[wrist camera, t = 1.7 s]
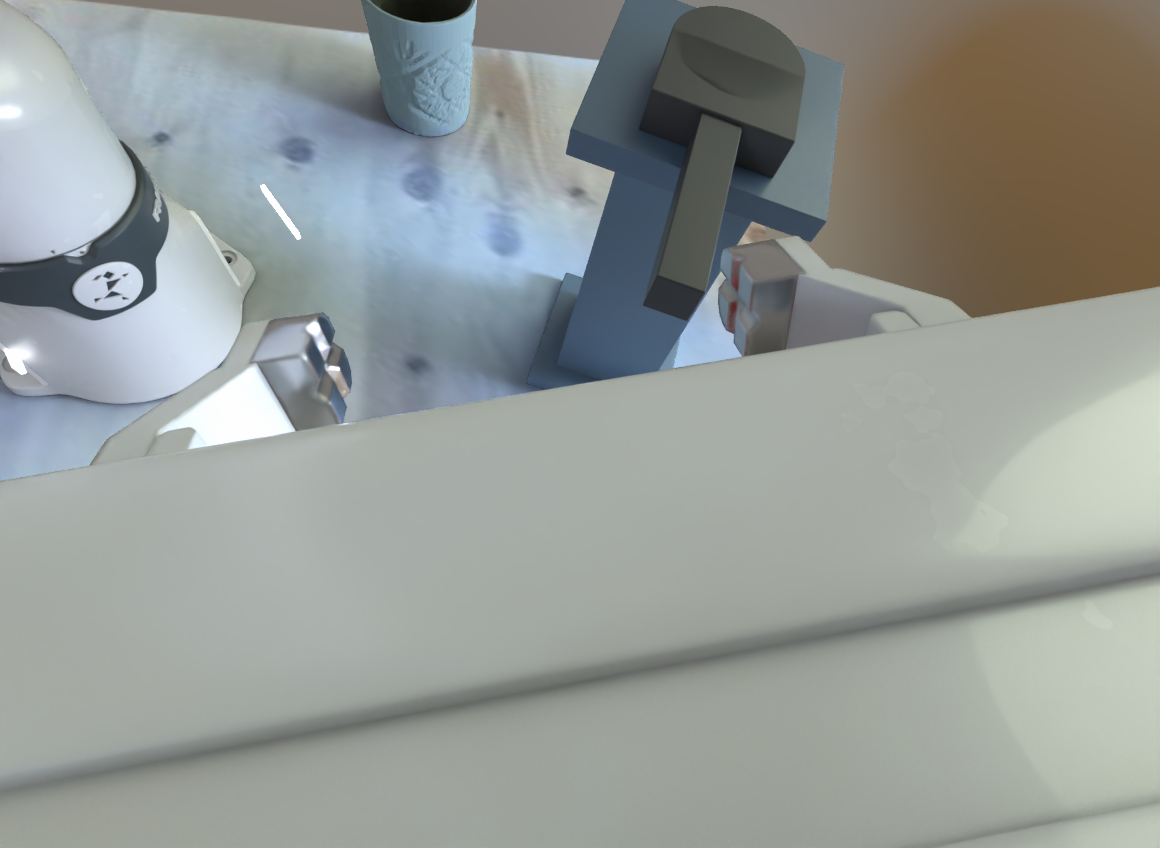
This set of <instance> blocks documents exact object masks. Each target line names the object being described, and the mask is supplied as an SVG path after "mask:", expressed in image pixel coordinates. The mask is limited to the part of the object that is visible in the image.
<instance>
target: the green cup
mask: <svg viewBox="0 0 1160 848" xmlns="http://www.w3.org/2000/svg"><path fill="white" fill-rule="evenodd" d="M361 2H362V6H363V10H364V14H365V18H366V21H367V26H368V30H369V36H370V40H371V43H372V47H373V51H374V56H375V61H376V65H377V69H378V71H379V74H380V77H381V78H380V87H381V91H382V96H383V100H384V104H385V108H386V111H387V113H388V115H389V117H390V118H391V120H392V121H393V122H394V123H395V124H396V125H397V126H398V127H400V128H401V129H403V130H405V131H407V132H409V133H413V134H414V135H421V136H427V137H430V136H431V137H433V136H442V135H447V134H450V133H453V132H455V131H457V130H458V129H459V128H461V126H462V125H463V124H464V123H465V121H466V119H467V116H468V112H469V101H470V83H471V81H470V80H471V76H472V62H473V48H472V45H471V44H472V41H473V38H474V37H473V30H474V27H475V15H476V4H477V0H361Z"/></svg>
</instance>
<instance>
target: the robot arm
mask: <svg viewBox="0 0 1160 848" xmlns="http://www.w3.org/2000/svg"><path fill="white" fill-rule="evenodd" d="M260 186H261V189H262V191H263V193H264V194H265V196H266V197H267V198H268V200H269V201H270V203H271V204H272V205H273V207H274V208H275V209H276V211H277V212H278V214H279V215H280V216H281V218H282V219H283V220H284V222H285V223H286V225H287V226H288V227H289V229H290V230H291V232H292V233H293V234H294V236H295V237H296V238H297V240H298V239H300V238H301V237H300V234H299V232H298V230H297V229H296V228H295V226H294V225H293V223H292V222H291V221H290V219H289V218H288V217H287V215H286V214H285V212H284V211H283V210H282V208H281V207H280V206H279V204H278V203H277V201H276V200H275V199H274V197H273V196H272V195H271V193H270V192H269V190H268V189H267V188H266V186H265V185H264V184H263V185H260ZM227 262H231V263H229V264H228V263H227ZM720 270H721V271H722V273H723V274H724V276H725V277H726V279H725V280H724V282H723V283H722V285H721V286H720V287H719V293H718V305H719V313H720V317H721V320H722V323H723V325H724V327H725V329H726V331H729V332H731V333H733V334H734V344H735V346H736V347H737V349H738V351H739V352H740V354H741V355H742V357H738V358H733V359H727V360H721V361H715V362H709V363H703V364H697V365H691V366H685V367H679V368H673V369H667V370H661V371H655V372H649V373H643V374H637V375H631V376H625V377H619V378H613V379H607V380H601V381H595V382H589V383H583V384H577V385H571V386H565V387H559V388H553V389H547V390H541V391H535V392H529V393H523V394H517V395H511V396H505V397H499V398H493V399H487V400H481V401H475V402H469V403H463V404H457V405H451V406H445V407H439V408H433V409H427V410H421V411H415V412H409V413H403V414H397V415H391V416H385V417H379V418H373V419H367V420H361V421H355V422H349V423H343V420H344V416H345V412H346V408H347V406H346V404H345V402H344V400H343V399H344V398H345V397H346V396H347V395H348V394H349V393H350V390H351V385H352V379H351V369H350V366H349V362H348V359H347V357H346V354H345V352H344V350H343V349H342V348H341V347H339V346H338V345H336V344H335V343H333V342H332V340H333V337H334V333H335V330H334V328H333V326H332V324H331V321H330V319H329V317H328V316H327V315H325V314H324V313H323V312H321V313H314V314H306V315H299V316H292V317H285V318H278V319H273V320H272V319H268V320H262V321H257V322H252V323H247V324H244V325H243V327H242V329H241V331H240V328H241V322H242V305H243V299H244V296H245V295H246V293H247V292H248V290H249V288H250V286H251V285H252V283H253V281H254V278H255V275H256V271H255V268H254V267H253V265H252V264H251V263H250V261H249V260H248V259H247V258H246V257H244V256H243V255H241V254H240V253H239V252H237V251H236V250H235V249H233V248H232V247H230V246H229V245H228V244H226V243H225V242H224V241H222V240H221V239H219V238H218V237H217V236H215V235H214V234H213V233H211V232H210V231H208V230H207V228H206V227H205V225H204V223H203V222H202V220H201V219H200V217H199V216H198V215H197V214H196V212H195V211H193V210H186V209H185V208H184V207H183V206H182V205H181V204H179V203H178V202H176V201H175V200H173V199H172V198H170V197H169V196H167V195H165V194H164V193H162V192H160V191H159V190H158V187H157V184H156V183H155V181H154V179H153V177H152V176H151V174H150V173H149V171H148V170H147V168H146V167H144V166H143V165H142V163H141V162H140V160H139V159H138V158H137V156H136V155H135V153H134V152H133V151H132V150H131V149H130V148H129V147H128V146H127V145H126V144H124V143H123V142H122V141H120V140H119V139H118V138H117V137H116V135H115V133H114V132H113V130H112V128H111V127H110V125H109V123H108V122H107V120H106V119H105V117H104V115H103V114H102V112H101V110H100V109H99V107H98V105H97V104H96V102H95V100H94V99H93V97H92V95H91V94H90V92H89V91H88V89H87V87H86V86H85V84H84V82H83V81H82V79H81V77H80V76H79V74H78V73H77V71H76V69H75V68H74V66H73V64H72V63H71V61H70V59H69V58H68V56H67V55H66V53H65V51H64V50H63V49H62V48H61V46H60V45H59V44H58V43H57V42H56V41H55V40H54V39H53V38H52V37H51V36H50V35H49V34H48V33H47V32H46V31H45V30H44V29H43V28H42V27H40V26H39V25H38V24H37V23H35V22H34V21H33V20H31V19H30V18H29V17H27V16H26V15H25V14H23V13H22V12H20V11H19V10H17V9H16V8H14V7H13V6H11V5H10V4H8V3H6V2H5V1H3V0H0V376H1V378H2V381H3V382H4V384H5V385H6V386H7V387H8V388H9V389H10V390H11V391H12V392H14V393H15V394H18V395H22V396H44V395H56V394H64V395H71V396H75V397H79V398H83V399H87V400H91V401H95V402H101V403H111V404H130V403H140V402H146V401H151V400H156V399H160V398H163V397H166V396H169V395H172V394H175V393H176V394H175V395H173V396H172V397H170V398H169V399H167V400H166V401H164V402H163V403H161V404H160V405H158V406H157V407H155V408H153V409H152V410H150V411H149V412H147V413H146V414H144V415H143V416H141V417H140V418H138V419H137V420H135V421H134V422H132V423H131V424H129V425H128V426H126V427H125V428H123V429H121V430H120V431H118V432H117V433H115V434H114V435H112V436H111V437H109V438H108V439H106V441H105V442H104V444H103V445H102V447H101V448H100V450H99V451H98V453H97V454H96V456H95V458H94V459H93V461H92V462H91V464H90V465H89V466H86V467H80V468H74V469H68V470H62V471H56V472H50V473H44V474H38V475H32V476H26V477H20V478H14V479H8V480H2V481H0V848H1160V287H1155V288H1150V289H1144V290H1139V291H1133V292H1127V293H1122V294H1115V295H1109V296H1104V297H1098V298H1092V299H1086V300H1080V301H1074V302H1068V303H1062V304H1055V305H1049V306H1043V307H1037V308H1031V309H1025V310H1019V311H1013V312H1007V313H1001V314H995V315H989V316H984V317H977V318H971V317H969V316H968V315H967V314H966V313H965V312H963V311H962V310H961V309H960V308H959V307H958V306H956V305H955V304H954V303H953V302H952V301H950V300H948V299H944V298H941V297H937V296H934V295H930V294H927V293H923V292H920V291H916V290H913V289H909V288H906V287H902V286H899V285H896V284H892V283H889V282H885V281H881V280H878V279H875V278H871V277H867V276H864V275H861V274H857V273H854V272H850V271H847V270H843V269H840V268H837V269H830V267H829V266H828V265H827V264H826V263H825V262H824V261H823V260H822V259H821V258H820V257H819V256H818V255H817V254H816V253H815V252H814V251H813V250H812V249H811V248H810V247H809V246H808V245H807V244H806V243H805V242H804V241H803V240H802V239H801V238H800V237H799V236H789V237H784V238H780V239H775V240H773V239H772V240H766V241H761V242H755V243H750V244H745V245H739V246H734V247H728V248H726V249H724V250H723V252H722V256H721V263H720ZM226 356H227V357H226ZM225 358H226V359H225ZM224 359H225V361H224V363H223V365H222V367H221V368H220V369H215V368H216V367H217V366H218V365H219V364H220V363H221V362H222V361H223V360H224ZM177 392H178V393H177Z"/></svg>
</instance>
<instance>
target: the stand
mask: <svg viewBox="0 0 1160 848" xmlns="http://www.w3.org/2000/svg"><path fill="white" fill-rule="evenodd" d="M695 8H696V7H693V6H690V5H688V4H685V3H682V2H680V1H677V0H625V3H624V5H623V8H622V10H621V12H620V14H619V17H618V19H617V22H616V24H615V26H614V29H613V31H612V33H611V35H610V38H609V40H608V43H607V45H606V47H605V50H604V52H603V54H602V57H601V59H600V61H599V64H598V66H597V68H596V71H595V73H594V75H593V78H592V80H591V82H590V85H589V87H588V90H587V92H586V94H585V97H584V99H583V101H582V104H581V106H580V108H579V111H578V113H577V115H576V118H575V120H574V122H573V125H572V127H571V130H570V135H569V140H568V145H567V150H566V154H567V155H569V156H572V157H575V158H578V159H581V160H583V161H586V162H589V163H592V164H594V165H597V166H600V167H603V168H606V169H608V170H611V171H614V172H615V174H614V178H613V181H612V184H611V187H610V191H609V194H608V197H607V201H606V204H605V207H604V210H603V214H602V217H601V220H600V224H599V227H598V230H597V234H596V237H595V240H594V243H593V247H592V250H591V253H590V257H589V260H588V263H587V266H586V270H585V273H584V276H583V278H581V277H578V276H575V275H572V274H570V273H566V274H565V276H564V279H563V282H562V285H561V287H560V290H559V293H558V295H557V298H556V301H555V304H554V306H553V309H552V312H551V314H550V317H549V320H548V323H547V325H546V328H545V331H544V333H543V336H542V339H541V342H540V344H539V347H538V350H537V352H536V355H535V358H534V361H533V363H532V366H531V369H530V372H529V374H528V377H527V382H526V383H527V384H530V385H533V386H536V387H539V388H542V389H545V390H547V389H553V388H559V387H565V386H571V385H577V384H583V383H589V382H595V381H601V380H607V379H613V378H619V377H625V376H631V375H637V374H643V373H649V372H655V371H661V370H667V369H673V366H674V362H675V358H676V354H677V349H678V345H679V341H680V337H681V334H682V332H683V331H684V329H685V328H686V326H687V324H688V323H689V321H690V320H691V318H692V316H693V315H694V313H695V312H696V310H697V308H698V307H699V305H700V304H701V302H702V300H703V299H704V297H705V296H706V294H707V292H708V291H709V289H710V288H711V286H712V284H713V283H714V281H715V280H716V278H717V276H718V275H719V273H720V272H721V270H720V263H721V256H722V252H723V250H724V249H726V248H728V247H734V246H737V244H738V243H739V241H740V239H741V238H742V236H743V235H744V233H745V231H746V230H747V228H748V227H749V225H750V223H751V222H752V221H753V222H755V223H758V224H761V225H764V226H767V227H769V228H772V229H775V230H778V231H781V232H784V233H786V234H789V235H792V236H799V237H800V238H801V239H803V240H806V241H808V242H811V241H812V240H813V238H814V237H815V236H816V235H817V233H818V232H819V231H820V230H821V228H822V227H823V226H824V225H825V223H826V222H827V215H828V206H829V196H830V188H831V178H832V169H833V160H834V150H835V142H836V132H837V124H838V115H839V105H840V95H841V87H842V78H843V68H844V64H843V63H841V62H838V61H836V60H833V59H830V58H828V57H825V56H822V55H820V54H817V53H814V52H812V51H809V50H807V49H804V48H801V47H798V46H796V45H795V46H796V47H797V49H798V51H799V52H800V54H801V56H802V58H803V60H804V64H805V69H806V77H805V83H804V89H803V96H802V102H801V108H800V115H799V121H798V127H797V134H796V140H795V143H794V145H793V147H792V148H791V150H790V152H789V153H788V155H787V156H786V158H785V160H784V161H783V163H782V165H781V166H780V168H779V169H778V171H777V173H776V174H775V176H774V177H773V178H770V177H767V176H764V175H762V174H759V173H756V172H753V171H751V170H748V169H745V168H742V167H740V166H737V165H734V167H733V172H732V176H731V181H730V185H729V190H728V195H727V199H726V204H725V208H724V213H723V217H722V222H721V226H720V231H719V235H718V240H717V244H716V249H715V253H714V258H713V262H712V267H711V271H710V276H709V280H708V285H707V289H706V293H705V295H704V296H703V298H702V299H701V301H700V303H699V304H698V306H697V307H696V309H695V311H694V312H693V314H692V316H691V317H690V319H689V320H688V321H685V320H682V319H679V318H676V317H673V316H670V315H667V314H665V313H662V312H659V311H656V310H653V309H650V308H647V307H644V306H643V302H644V298H645V294H646V291H647V287H648V284H649V280H650V277H651V273H652V270H653V266H654V262H655V259H656V255H657V252H658V248H659V245H660V241H661V238H662V234H663V230H664V227H665V223H666V220H667V216H668V213H669V209H670V206H671V202H672V199H673V195H674V191H675V188H676V184H677V181H678V177H679V174H680V170H681V167H682V163H683V159H684V156H685V152H686V149H687V147H685V146H682V145H679V144H677V143H674V142H671V141H668V140H666V139H663V138H660V137H658V136H655V135H652V134H649V133H647V132H644V131H641V130H639V126H640V122H641V119H642V116H643V113H644V110H645V107H646V104H647V101H648V98H649V94H650V91H651V88H652V85H653V83H654V80H655V77H656V74H657V71H658V68H659V65H660V62H661V59H662V57H663V54H664V51H665V48H666V45H667V42H668V39H669V36H670V33H671V31H672V28H673V26H674V24H675V22H676V21H677V19H678V18H679V17H680V16H682V15H683V14H684V13H686V12H688V11H690V10H692V9H695Z"/></svg>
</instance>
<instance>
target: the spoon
mask: <svg viewBox="0 0 1160 848" xmlns="http://www.w3.org/2000/svg"><path fill="white" fill-rule="evenodd" d="M805 77H806V69H805V64H804V60H803V58H802V56H801V54H800V52H799V51H798V49H797V47H796V46H795V45H794V44H793V43H792V41H791V40H790V39H789V38H788V37H787V36H786V35H784V34H783V33H782V32H781V31H780V30H779V29H777V28H776V27H774V26H773V25H771V24H770V23H768V22H766V21H764V20H763V19H761V18H759V17H757V16H754V15H752V14H750V13H747V12H744V11H741V10H737V9H733V8H728V7H718V6H707V7H700V8H695V9H692V10H690V11H688V12H686V13H684V14H683V15H682V16H680V17H679V18H678V19H677V21H676V22H675V24H674V26H673V28H672V31H671V33H670V36H669V39H668V42H667V45H666V48H665V51H664V54H663V57H662V59H661V62H660V65H659V68H658V71H657V74H656V77H655V80H654V83H653V85H652V88H651V91H650V94H649V98H648V101H647V104H646V107H645V110H644V113H643V116H642V119H641V122H640V126H639V130H641V131H644V132H647V133H649V134H652V135H655V136H658V137H660V138H663V139H666V140H668V141H671V142H674V143H677V144H679V145H682V146H685V147H687V149H686V152H685V156H684V159H683V163H682V167H681V170H680V174H679V177H678V181H677V184H676V188H675V191H674V195H673V199H672V202H671V206H670V209H669V213H668V216H667V220H666V223H665V227H664V230H663V234H662V238H661V241H660V245H659V248H658V252H657V255H656V259H655V262H654V266H653V270H652V273H651V277H650V280H649V284H648V287H647V291H646V294H645V298H644V302H643V306H644V307H647V308H650V309H653V310H656V311H659V312H662V313H665V314H667V315H670V316H673V317H676V318H679V319H682V320H685V321H688V320H689V319H690V317H691V316H692V314H693V312H694V311H695V309H696V307H697V306H698V304H699V303H700V301H701V299H702V298H703V296H704V295H705V293H706V289H707V285H708V280H709V276H710V271H711V267H712V262H713V258H714V253H715V249H716V244H717V240H718V235H719V231H720V226H721V222H722V217H723V213H724V208H725V204H726V199H727V195H728V190H729V185H730V181H731V176H732V172H733V167H734V165H737V166H740V167H742V168H745V169H748V170H751V171H753V172H756V173H759V174H762V175H764V176H767V177H770V178H773V177H774V176H775V174H776V173H777V171H778V169H779V168H780V166H781V165H782V163H783V161H784V160H785V158H786V156H787V155H788V153H789V152H790V150H791V148H792V147H793V145H794V143H795V140H796V134H797V127H798V121H799V115H800V108H801V102H802V96H803V89H804V83H805Z"/></svg>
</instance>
